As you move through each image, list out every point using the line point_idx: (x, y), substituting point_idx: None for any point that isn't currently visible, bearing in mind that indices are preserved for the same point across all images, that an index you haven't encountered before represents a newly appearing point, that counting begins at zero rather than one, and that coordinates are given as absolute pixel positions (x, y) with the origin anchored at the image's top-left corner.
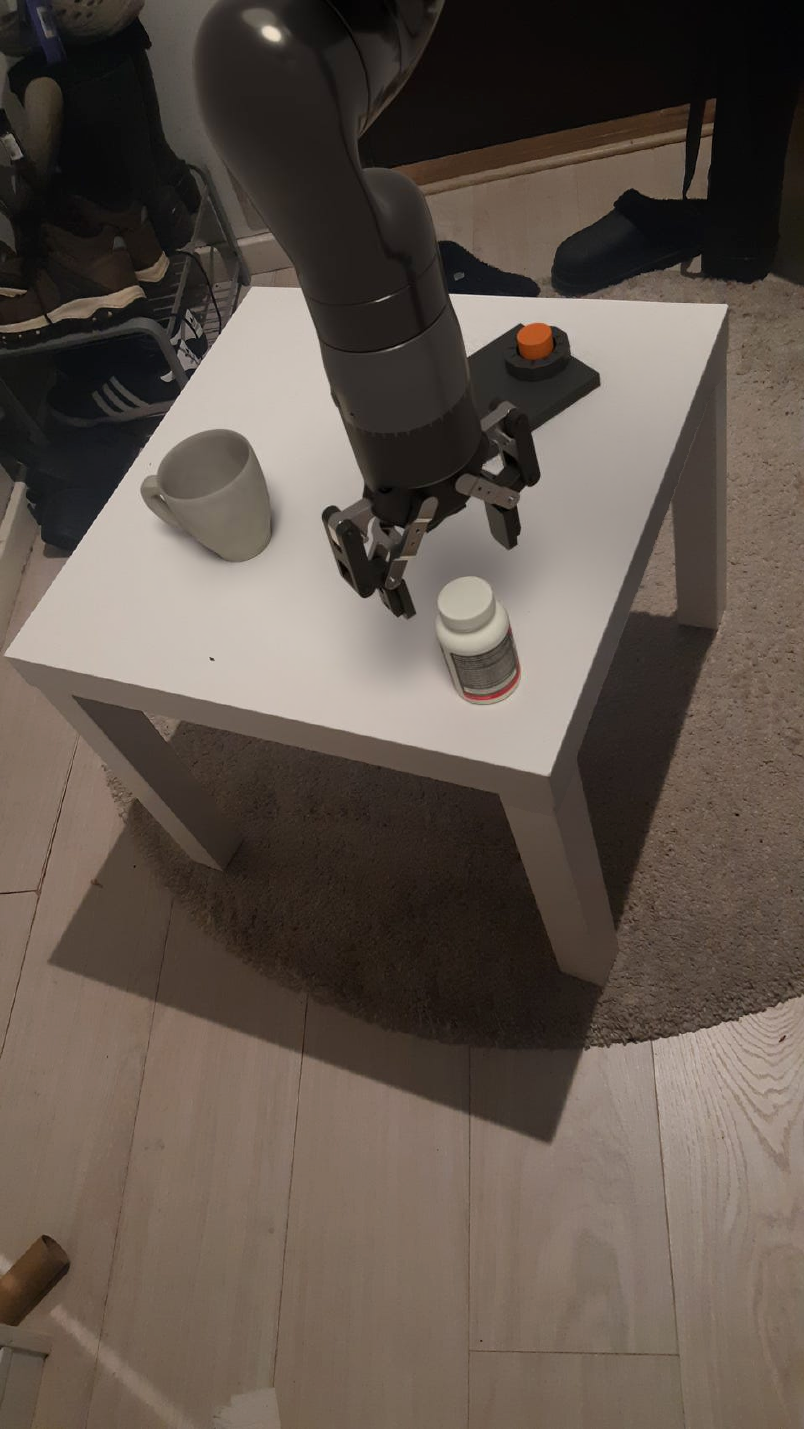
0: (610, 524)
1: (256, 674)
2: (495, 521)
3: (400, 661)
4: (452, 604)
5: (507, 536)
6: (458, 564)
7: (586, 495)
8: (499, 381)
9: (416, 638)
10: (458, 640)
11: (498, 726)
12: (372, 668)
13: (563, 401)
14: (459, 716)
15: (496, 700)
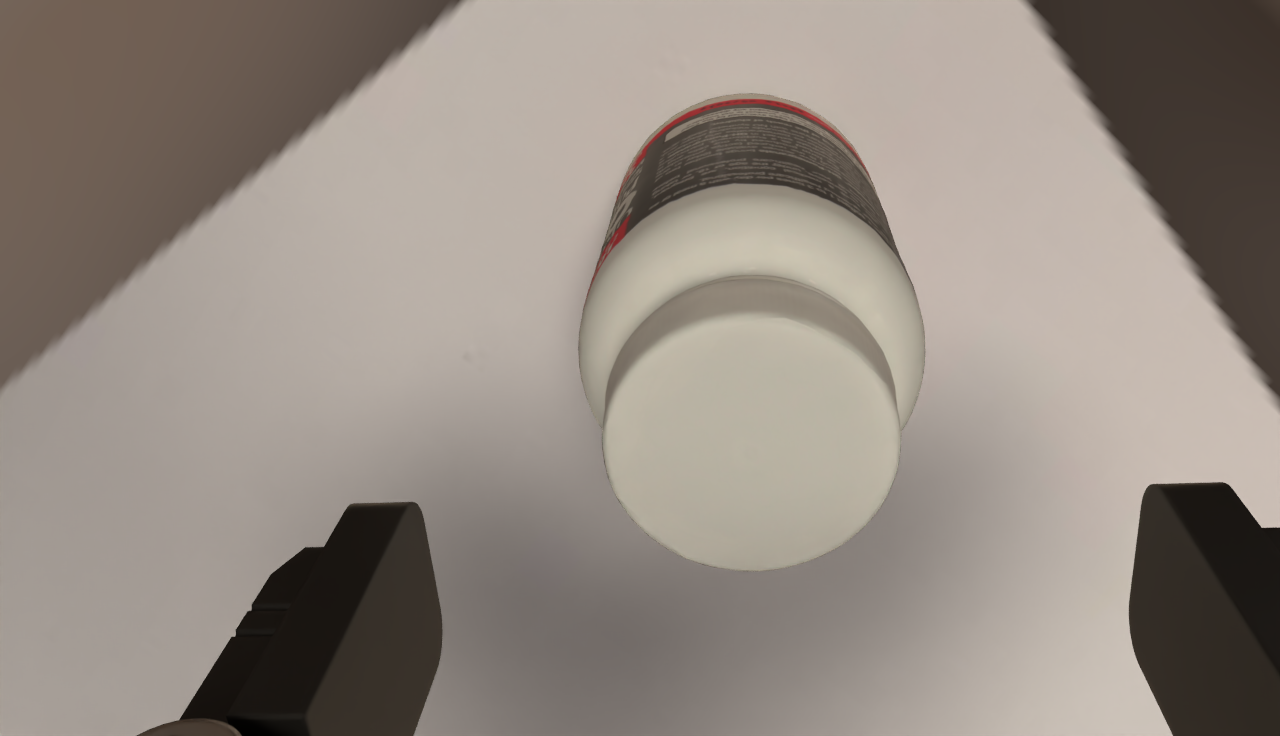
0: (54, 467)
1: None
2: (379, 704)
3: (939, 471)
4: (825, 456)
5: (375, 571)
6: (554, 651)
7: (70, 604)
8: None
9: None
10: (876, 303)
11: (844, 5)
12: (1031, 508)
13: None
14: (929, 143)
15: (787, 100)
